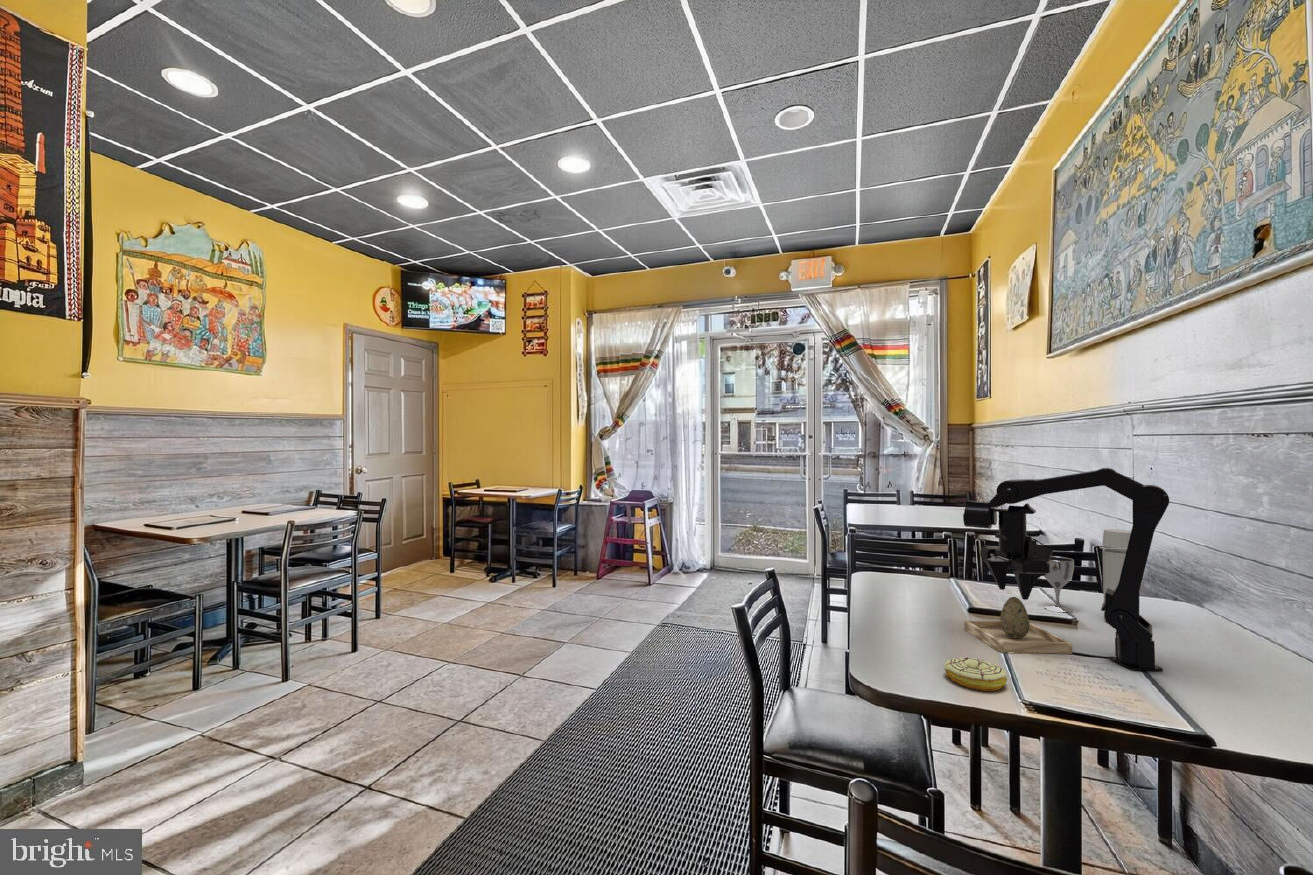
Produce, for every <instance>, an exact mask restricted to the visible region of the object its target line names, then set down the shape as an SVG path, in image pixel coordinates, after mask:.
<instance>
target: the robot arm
mask: <svg viewBox="0 0 1313 875" xmlns="http://www.w3.org/2000/svg"><path fill="white" fill-rule="evenodd" d="M1101 486H1102V487H1106V488H1109V489H1110V490H1112V491H1114V492H1116V493H1117V494H1120V495H1121V496H1123V497H1125V498H1127V499H1129V500H1131V501H1132V527H1131V530H1130V531H1131V534H1130V538H1129V543H1128V547H1127V551H1126V555H1125V559H1124V563H1123V567H1122V571H1121V575H1120V579H1119V583H1118V585H1117V587H1116V588H1115V590H1114V591H1113V590H1111V589H1109V588H1107V589H1106V593H1105V602H1104V601H1103V602H1102V604H1101V608H1100V611H1101V612H1103V618H1104V617H1105V619H1104V620H1105V621H1106V623H1107V624H1108V625H1109V626H1110V627H1112V628H1113V629H1115V638H1114V641H1115V643H1114V648H1115V650H1114V651H1115V654H1114V655H1115V656H1108V659H1109V660H1111V661H1112V662H1115V663H1116V664H1118V665H1120V666H1123V667H1125V668H1126V669H1129V668H1130V669H1129V670H1131V669H1133V670H1132V671H1146V672H1147V671H1151V672H1153V671H1155V672H1157V671H1158V672H1160V671H1161V672H1162V671H1164V668H1162V667H1160V666H1158V665H1157V664H1156V656H1155V655H1156V652H1155V651H1156V648H1155V645H1156V644H1155V640H1153V625H1152V624H1151V623H1150V622H1149V621H1148V620H1147V619H1145V618H1144V617H1143V616H1141V615H1140V590H1141V586H1142V582H1143V578H1144V574H1145V571H1146V570H1145V569H1146V565H1147V561H1148V558H1149V554H1150V550H1151V547H1152V546H1151V545H1152V543H1153V538H1154V534H1155V531H1156V528H1157V527H1158V525H1159V523H1160V521H1161V520H1162V518H1163V516H1164V514H1165V512H1166V510H1167V508H1168V506H1169V504H1170V497H1169V494H1168V492H1167V491H1165V489H1163V488H1162V487H1161V486H1158V485H1154V484H1146V485H1145V484H1144V483H1141V482H1139V481H1136V480H1135V479H1132V478H1130V477H1128V476H1126V475H1123V474H1121V473H1119V472H1117V471H1116V470H1115V469H1113V468H1110V467H1102V468H1099V469H1096V470H1091V471H1090V470H1089V471H1083V472H1079V473H1078V472H1077V473H1072V474H1065V475H1060V476H1059V475H1058V476H1054V477H1047V478H1046V477H1045V478H1039V479H1037V478H1036V479H1035V478H1034V479H1031V478H1030V479H1027V478H1024V479H1008V480H1005V481H1002V482H1000V483H999V485H998V486H997V487H996V492H995V493H996V494H995V495H994V496H993V497H992V499H990V500H989V502H988V501H987V502H985V501H975V500H970V499H969V500H966V501H965V506H964V513H962V514H963V515H962V516H963V517H962V520H963V524H964V527H965V528H976V529H987V530H988V529H990V530H991V529H992V527H993V526H997V523H998V533H997V532H996V533H994V538H995V539H996V538H997V539H998V546H983V547H982V548H981V549H980V552H979V553H980V558H983V562H984V563H985V564H986V566H987V568H988V570H989V572H990V573H991V575H992V577H993V579H994V580H995V582H996V585H997V587H998V588H999V590H1002V591H1004V590H1005V589H1006V584H1007V574H1008V573H1007V572H1008V568H1009V567H1010V566H1011V565H1012V564H1013V567H1014V569H1015V570H1013V575H1014V578H1015V581H1016V585H1017V588H1018V591H1019V594H1020V597H1021V599H1022V600H1023V601H1027V600H1028V599H1029V597H1030V596H1031V593H1032V590H1033V588H1034V585H1035V583H1036V581H1037V580H1038V579H1039V578H1040V577H1042V576H1043V577H1044V576H1045V575H1046V573H1050V564H1049V563H1048V562H1049V561H1050V558H1051V556H1053V553H1054V549H1051V548H1047V547H1045V546H1043V545H1039V544H1037V543H1038V542H1037V540H1036V541H1035V540H1034V539H1032V537H1031V536H1030V535H1027V515H1034V514H1035V513H1036V512H1037V510H1036V509H1034V508H1033V507H1032V506H1031V504H1030V503H1028V502H1027V503H1025V504H1024V505H1014V504H1018V503H1020V502H1024V501H1028V500H1030V499H1034V498H1037V497H1041V496H1043V495H1049V494H1055V493H1062V492H1069V491H1076V490H1081V489H1089V488H1095V487H1101ZM1006 504H1009V505H1008V508H999V507H1002V506H1005V505H1006ZM1104 611H1105V613H1104Z"/></svg>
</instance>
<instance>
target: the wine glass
mask: <svg viewBox="0 0 1313 875" xmlns="http://www.w3.org/2000/svg"><path fill="white" fill-rule="evenodd" d="M1048 563H1049V564H1050V573H1046V575H1045V576H1043V577H1044V579H1045V580H1046V581H1047V582H1048V583H1049V584H1050V585H1051V586H1052V587H1053V588H1052V589H1053V590H1054V593H1055V594H1054V595H1055V604H1054V605H1053V606H1055V607H1059V608H1061V609H1062V610H1063V611H1067V612H1068V613H1067V614H1072V613H1073V612H1074V611H1073V610H1072V609H1071V608H1067V607H1064V606H1061V604H1060V594H1061V590H1062V588H1063V587H1064V586H1066V585H1067V584H1068V583H1069V582H1070V581H1071V580H1072V578H1073V574H1074V570H1075V560H1074V559H1073V558H1069V557H1065V556H1059V555H1058V556H1057V555H1051V558H1050V561H1049V562H1048Z"/></svg>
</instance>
